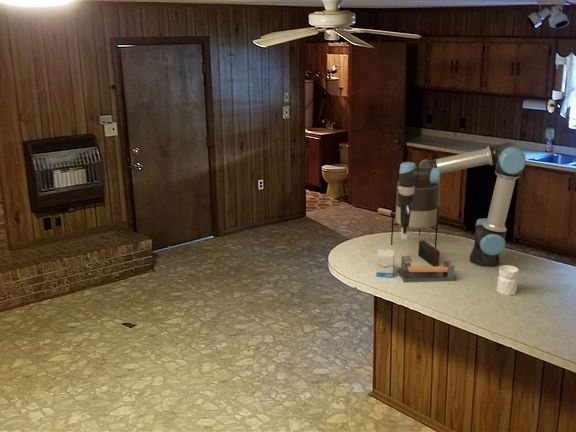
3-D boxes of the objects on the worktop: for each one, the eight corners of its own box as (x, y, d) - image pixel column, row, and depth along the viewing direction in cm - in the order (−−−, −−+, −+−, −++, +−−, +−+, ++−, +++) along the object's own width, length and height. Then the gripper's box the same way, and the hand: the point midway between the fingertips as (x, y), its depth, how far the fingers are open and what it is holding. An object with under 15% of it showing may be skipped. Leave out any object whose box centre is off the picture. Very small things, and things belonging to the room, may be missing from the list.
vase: (494, 288, 306) (496, 265, 302) (512, 288, 305) (515, 265, 301) (499, 296, 297) (501, 272, 293) (518, 296, 297) (521, 272, 293)
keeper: (409, 267, 325) (410, 255, 323) (412, 273, 318) (413, 261, 316) (400, 268, 325) (401, 256, 323) (403, 273, 318) (404, 261, 316)
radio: (417, 255, 345) (419, 229, 341) (422, 255, 346) (424, 228, 342) (435, 268, 329) (437, 241, 324) (440, 268, 330) (442, 240, 325)
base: (448, 270, 326) (449, 256, 324) (456, 280, 314) (457, 266, 312) (398, 271, 325) (398, 258, 323) (403, 282, 313) (404, 268, 310)
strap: (448, 268, 319) (448, 266, 318) (451, 272, 314) (451, 269, 314) (407, 268, 318) (407, 265, 317) (409, 272, 313) (409, 269, 313)
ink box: (393, 278, 318) (394, 256, 314) (376, 276, 320) (376, 255, 316) (394, 271, 326) (394, 249, 322) (377, 270, 328) (377, 248, 324)
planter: (449, 242, 363) (454, 182, 352) (425, 255, 346) (429, 192, 335) (410, 232, 380) (413, 174, 369) (386, 243, 363) (388, 183, 352)
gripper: (395, 190, 324) (393, 234, 331) (401, 197, 311) (399, 243, 319) (410, 189, 324) (408, 233, 332) (416, 197, 312) (414, 242, 319)
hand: (403, 238), depth 325 cm, fingers closed
